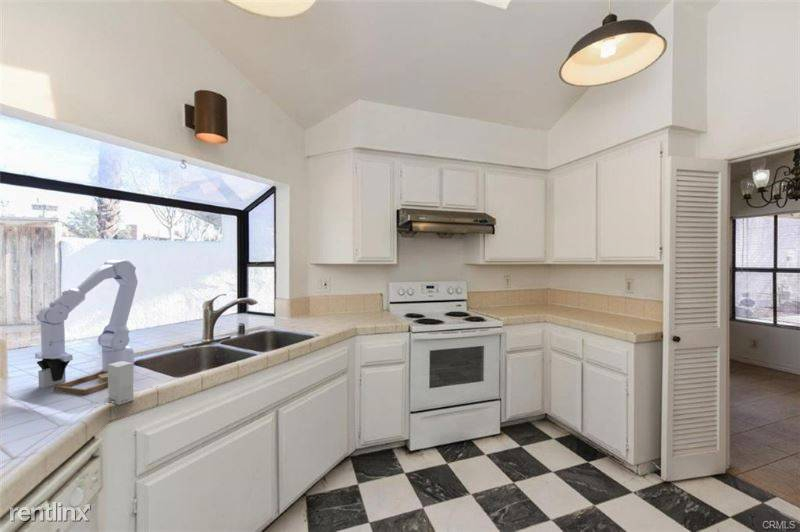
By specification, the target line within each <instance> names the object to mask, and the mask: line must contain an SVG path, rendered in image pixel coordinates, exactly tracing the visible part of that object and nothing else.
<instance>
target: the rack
mask: <svg viewBox="0 0 800 532" xmlns="http://www.w3.org/2000/svg"><path fill="white" fill-rule="evenodd" d="M105 373H108V371H103V370H102V371H98V372H95V373H92V374H88V375H85V376H82V377H78V378H76V379H73V380H69V381H66V382H62V383H59V384H56V385H52V386H53V387H52V390H53V392H60V393H66V394H72V395H73V394H74V395H80V396H86V395H89V394H92V393H96V392H97V391H101V390H103V389H106V388H108V382H105V383H98V384H95V385H93V386H91V387H87V388H82V387H81V388H80V387H74V386H77V385H79V384H83V383H86V382H89V381H91V380H95V379H98V375H100V374H105Z"/></svg>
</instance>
